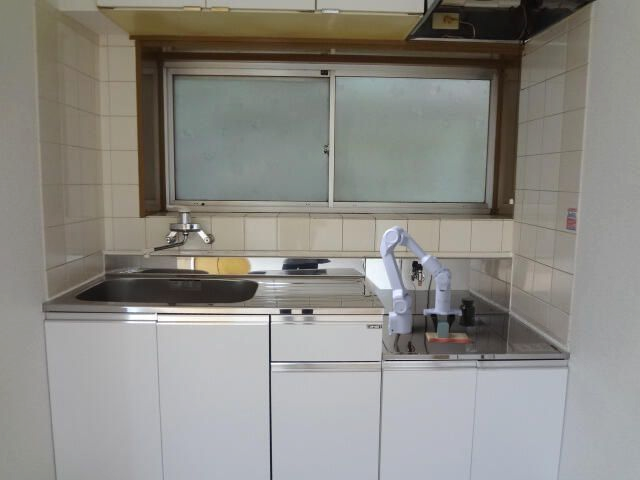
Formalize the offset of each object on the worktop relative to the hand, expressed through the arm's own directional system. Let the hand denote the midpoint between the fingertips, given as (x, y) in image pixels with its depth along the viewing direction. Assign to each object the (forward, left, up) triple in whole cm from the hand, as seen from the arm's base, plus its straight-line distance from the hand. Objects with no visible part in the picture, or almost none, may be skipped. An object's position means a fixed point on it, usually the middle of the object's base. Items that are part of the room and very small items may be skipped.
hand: (441, 332), depth 179 cm
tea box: (0, 0, -1) cm, 1 cm away
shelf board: (+2, -2, -2) cm, 4 cm away
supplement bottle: (+13, +14, -3) cm, 19 cm away
